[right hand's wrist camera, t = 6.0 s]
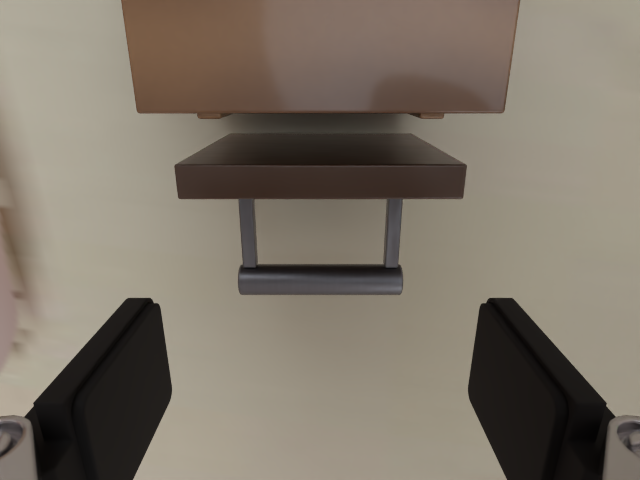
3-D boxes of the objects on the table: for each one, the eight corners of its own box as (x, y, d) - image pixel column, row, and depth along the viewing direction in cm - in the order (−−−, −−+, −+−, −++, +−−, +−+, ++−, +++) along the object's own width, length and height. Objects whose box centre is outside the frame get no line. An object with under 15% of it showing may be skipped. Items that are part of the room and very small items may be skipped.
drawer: (403, 249, 25) (447, 337, 17) (237, 249, 25) (193, 337, 17) (444, -313, 17) (573, -723, 8) (196, -313, 17) (68, -723, 8)
